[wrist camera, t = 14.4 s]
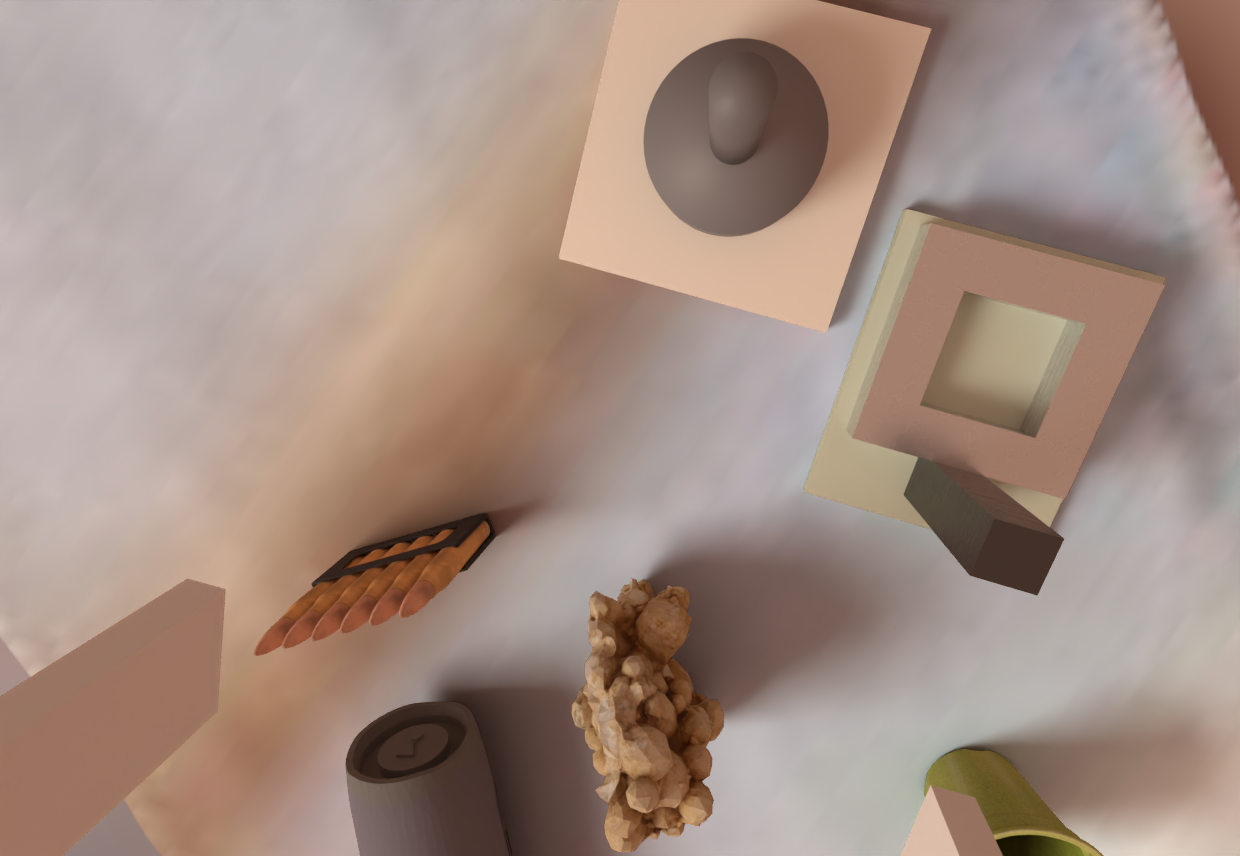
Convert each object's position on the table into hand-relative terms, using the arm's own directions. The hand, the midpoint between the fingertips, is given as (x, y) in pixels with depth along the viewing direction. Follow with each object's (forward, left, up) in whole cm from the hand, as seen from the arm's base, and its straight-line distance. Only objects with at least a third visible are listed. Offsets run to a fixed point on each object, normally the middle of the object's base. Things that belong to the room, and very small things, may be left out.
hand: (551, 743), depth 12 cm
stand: (-15, 0, -31) cm, 34 cm away
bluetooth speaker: (+35, -5, -31) cm, 47 cm away
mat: (-6, +17, -31) cm, 36 cm away
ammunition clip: (+14, -13, -31) cm, 37 cm away
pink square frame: (-6, +17, -30) cm, 35 cm away
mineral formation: (+16, +4, -31) cm, 35 cm away
